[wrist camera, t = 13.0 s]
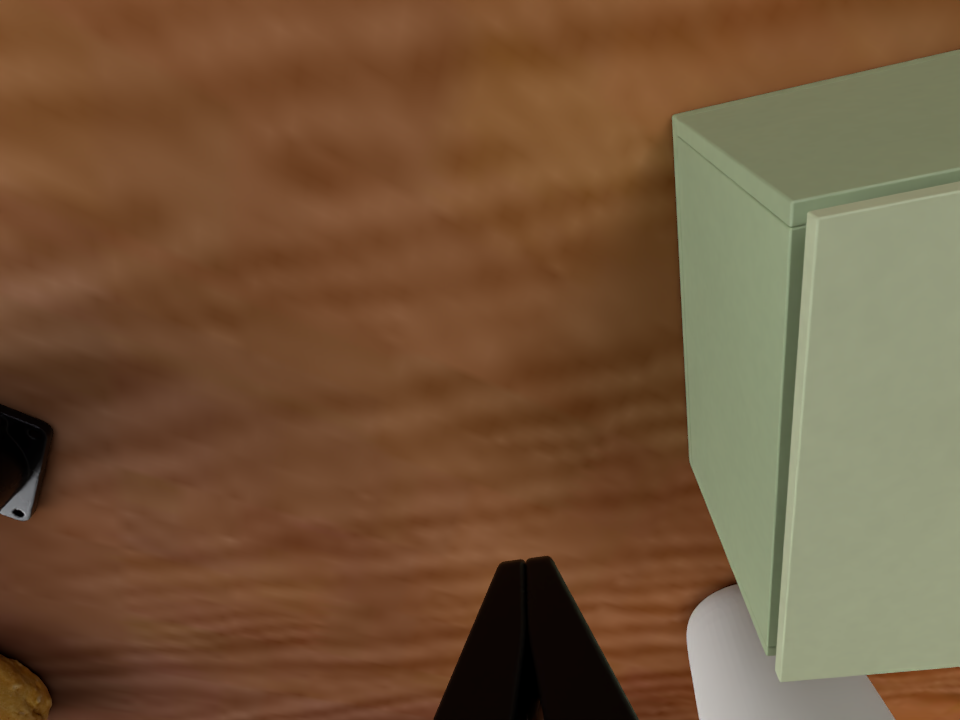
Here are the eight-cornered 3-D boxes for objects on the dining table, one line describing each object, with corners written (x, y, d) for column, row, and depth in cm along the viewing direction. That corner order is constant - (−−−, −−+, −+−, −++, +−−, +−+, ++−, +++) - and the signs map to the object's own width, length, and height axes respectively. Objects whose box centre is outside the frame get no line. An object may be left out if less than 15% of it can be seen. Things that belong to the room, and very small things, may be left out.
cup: (792, 685, 33) (866, 862, 26) (651, 682, 33) (688, 857, 27) (851, 560, 27) (965, 747, 21) (679, 559, 28) (736, 742, 21)
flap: (774, 669, 17) (779, 682, 16) (806, 210, 10) (816, 218, 9) (1016, 647, 16) (1027, 661, 16) (1248, 122, 9) (1279, 127, 8)
